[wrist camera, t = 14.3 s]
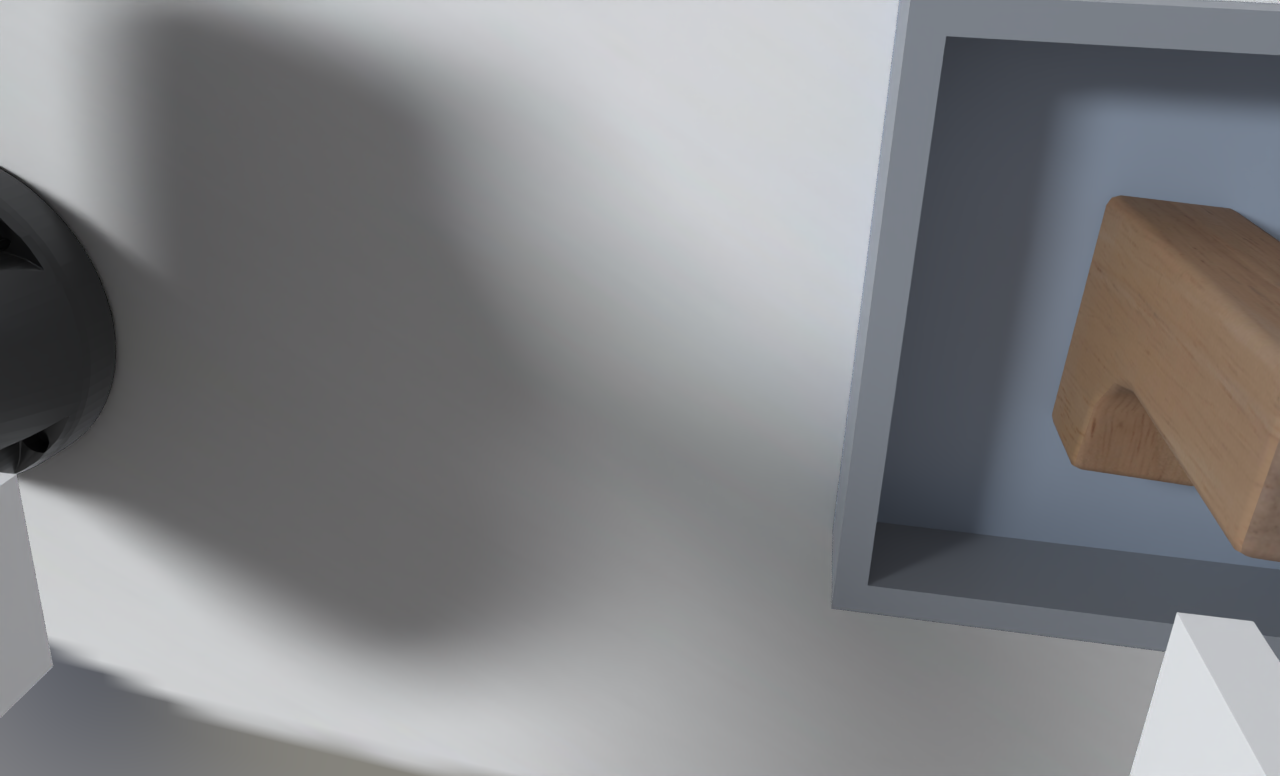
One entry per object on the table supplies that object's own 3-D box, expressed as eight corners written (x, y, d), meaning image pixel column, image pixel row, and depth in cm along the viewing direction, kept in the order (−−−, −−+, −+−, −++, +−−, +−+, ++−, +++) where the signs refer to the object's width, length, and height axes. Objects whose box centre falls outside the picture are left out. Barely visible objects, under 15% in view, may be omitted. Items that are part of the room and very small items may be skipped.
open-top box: (832, 530, 47) (831, 608, 42) (901, -16, 39) (911, -8, 33) (1333, 590, 44) (1402, 682, 39) (1526, 16, 36) (1649, 30, 30)
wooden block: (1168, 437, 42) (1377, 758, 26) (1047, 420, 43) (1176, 723, 26) (1239, 207, 39) (1534, 408, 22) (1106, 191, 39) (1298, 375, 23)
